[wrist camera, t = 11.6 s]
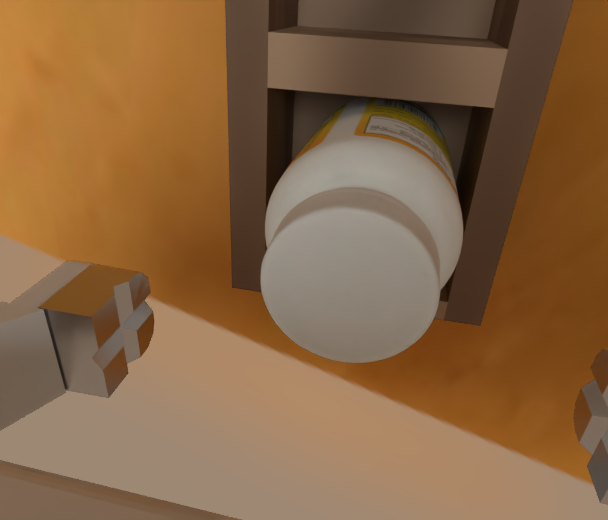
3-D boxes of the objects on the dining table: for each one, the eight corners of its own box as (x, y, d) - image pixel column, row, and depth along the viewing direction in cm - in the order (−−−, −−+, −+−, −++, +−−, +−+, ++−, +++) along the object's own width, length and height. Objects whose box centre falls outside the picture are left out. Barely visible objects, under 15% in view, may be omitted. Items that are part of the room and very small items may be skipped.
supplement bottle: (436, 75, 17) (460, 146, 9) (457, 213, 19) (492, 377, 11) (293, 112, 18) (196, 203, 10) (327, 236, 21) (271, 394, 12)
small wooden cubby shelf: (597, -257, 13) (678, -370, 9) (467, 264, 21) (480, 325, 17) (270, -252, 14) (217, -348, 10) (264, 236, 22) (232, 287, 18)
